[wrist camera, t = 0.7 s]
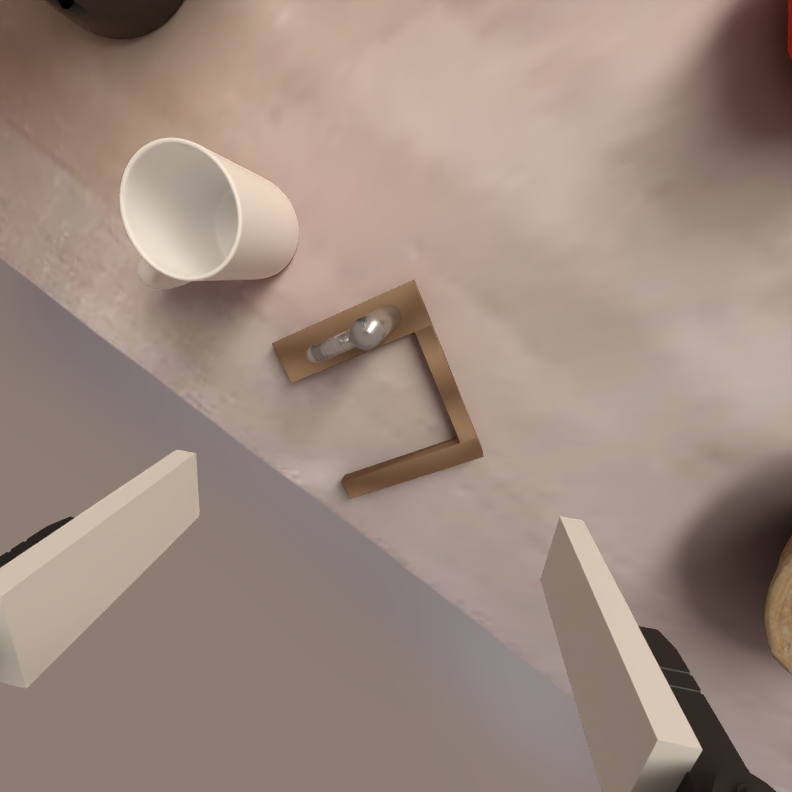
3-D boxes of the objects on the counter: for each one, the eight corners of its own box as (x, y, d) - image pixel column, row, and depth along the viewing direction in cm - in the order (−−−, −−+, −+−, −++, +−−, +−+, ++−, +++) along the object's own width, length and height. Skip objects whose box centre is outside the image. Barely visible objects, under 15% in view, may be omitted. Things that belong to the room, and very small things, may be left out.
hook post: (337, 326, 34) (294, 346, 25) (395, 301, 33) (373, 312, 23) (347, 347, 35) (308, 375, 25) (404, 323, 33) (386, 342, 24)
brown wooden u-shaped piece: (278, 340, 37) (271, 343, 36) (414, 279, 34) (412, 280, 32) (353, 491, 41) (349, 498, 39) (482, 449, 37) (483, 456, 36)
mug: (224, 320, 37) (143, 336, 27) (166, 244, 36) (60, 232, 26) (320, 242, 34) (267, 229, 24) (261, 155, 32) (179, 104, 23)
